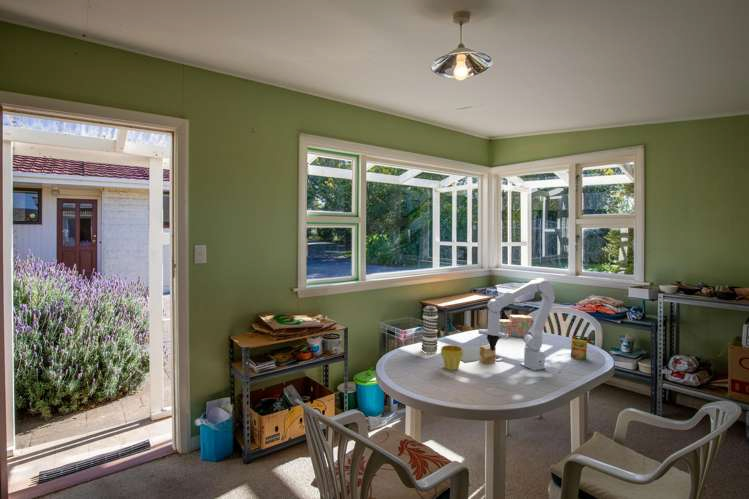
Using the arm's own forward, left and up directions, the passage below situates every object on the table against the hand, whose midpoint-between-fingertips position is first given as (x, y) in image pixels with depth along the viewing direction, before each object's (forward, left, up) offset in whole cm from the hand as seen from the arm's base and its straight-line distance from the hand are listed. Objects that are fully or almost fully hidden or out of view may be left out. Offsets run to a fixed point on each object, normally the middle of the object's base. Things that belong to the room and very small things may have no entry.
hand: (492, 350), depth 210 cm
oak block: (+4, 0, -8) cm, 8 cm away
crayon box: (-10, -49, -8) cm, 50 cm away
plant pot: (+4, +21, -8) cm, 23 cm away
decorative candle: (+29, +19, -8) cm, 35 cm away
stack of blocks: (+36, -46, -8) cm, 59 cm away
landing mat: (+16, 0, -7) cm, 18 cm away
